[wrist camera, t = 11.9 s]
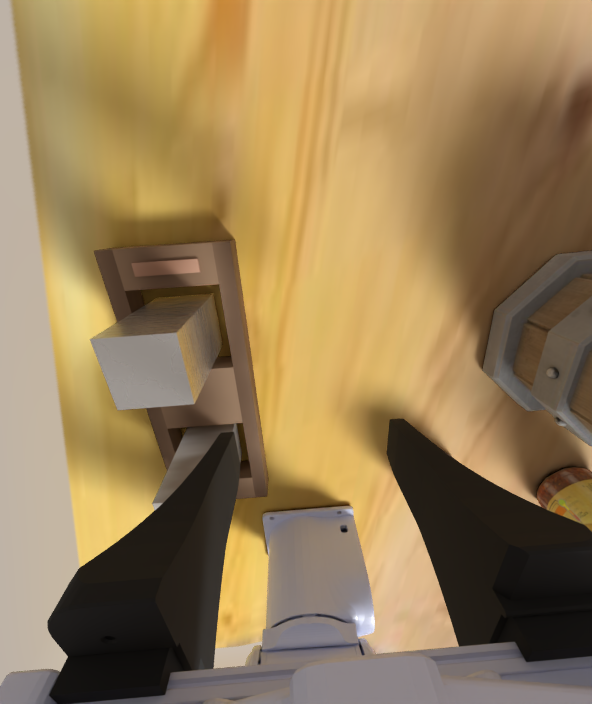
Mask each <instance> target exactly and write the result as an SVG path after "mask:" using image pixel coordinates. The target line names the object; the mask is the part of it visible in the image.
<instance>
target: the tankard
mask: <svg viewBox="0 0 592 704" xmlns="http://www.w3.org/2000/svg"><path fill="white" fill-rule="evenodd" d="M483 371H484V372H485V373H486V374H487V375H488V376H489V377H490V378H491V379H492V380H493V381H494V382H495V383H496V384H497V385H498V386H499V387H500V388H501V389H502V390H504V391H505V392H506V393H507V394H508V395H509V396H510V397H511V398H512V399H513V400H514V401H515V402H516V403H517V404H519V405H520V406H521V407H523V408H524V409H525V410H526V411H537V410H547V411H548V412H549V413H550V414H551V415H552V416H553V417H554V418H555V422H556V424H558V425H560V426H563V427H565V428H566V429H567V430H569V431H570V432H571V433H573V434H574V435H576V436H577V437H578V438H580V439H581V440H582V441H584V442H585V443H587V444H588V445H589V446H592V251H584V252H574V253H564V254H556V255H555V256H554V257H553V258H552V259H551V260H550V261H548V262H547V263H546V264H545V265H544V266H543V267H542V268H541V269H540V270H538V271H537V272H536V273H535V274H534V275H533V276H532V277H531V278H530V279H528V280H527V281H526V282H525V283H524V284H523V285H522V286H521V287H520V288H518V289H517V290H516V291H515V292H514V293H513V294H512V295H511V296H509V297H508V298H507V299H506V300H505V301H504V302H503V303H502V304H501V305H499V306H498V307H497V308H496V309H495V310H494V315H493V320H492V325H491V330H490V335H489V340H488V345H487V350H486V355H485V360H484V365H483Z"/></svg>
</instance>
